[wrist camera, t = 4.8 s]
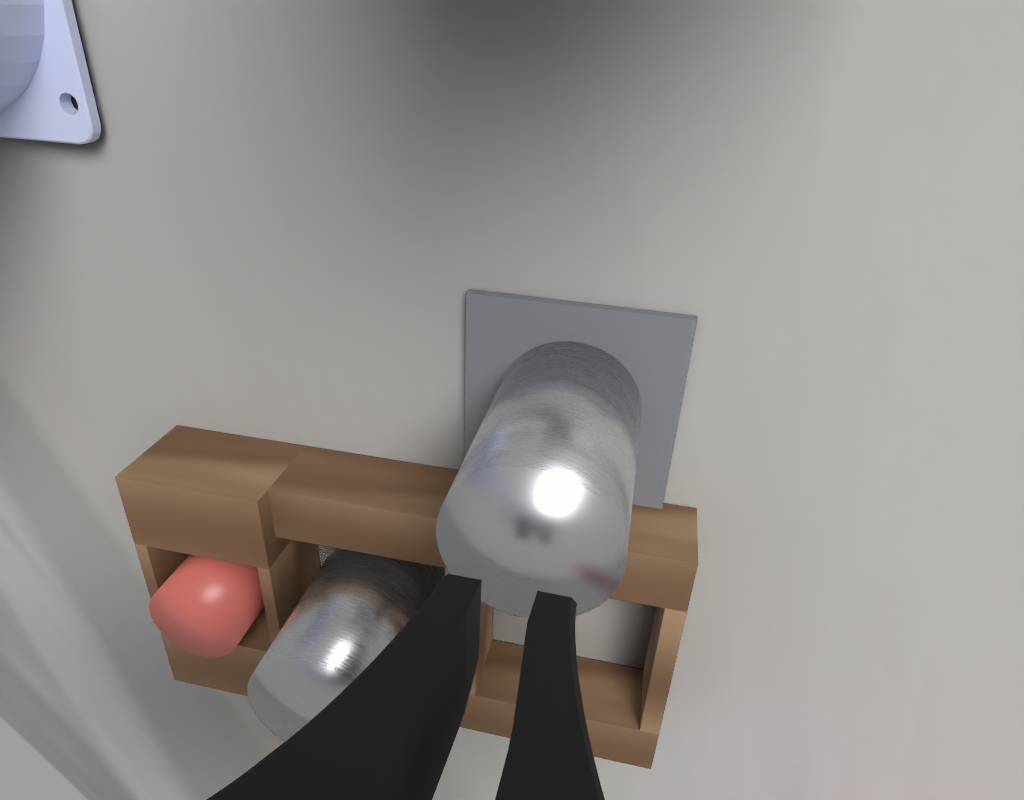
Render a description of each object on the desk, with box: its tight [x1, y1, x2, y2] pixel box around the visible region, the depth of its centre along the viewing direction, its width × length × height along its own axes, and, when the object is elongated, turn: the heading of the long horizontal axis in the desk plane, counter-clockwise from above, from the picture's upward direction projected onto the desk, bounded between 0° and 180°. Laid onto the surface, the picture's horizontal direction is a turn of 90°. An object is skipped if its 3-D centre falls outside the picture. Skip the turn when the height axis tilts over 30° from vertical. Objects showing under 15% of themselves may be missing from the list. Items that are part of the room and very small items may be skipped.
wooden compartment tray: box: [115, 426, 698, 769], centre depth 23 cm, size 9×17×3 cm, turn 88°
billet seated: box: [247, 548, 445, 741], centre depth 22 cm, size 4×4×6 cm
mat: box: [465, 289, 697, 509], centre depth 20 cm, size 6×6×1 cm
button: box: [150, 555, 264, 657], centre depth 23 cm, size 3×3×3 cm
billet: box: [436, 341, 642, 618], centre depth 17 cm, size 4×4×6 cm
